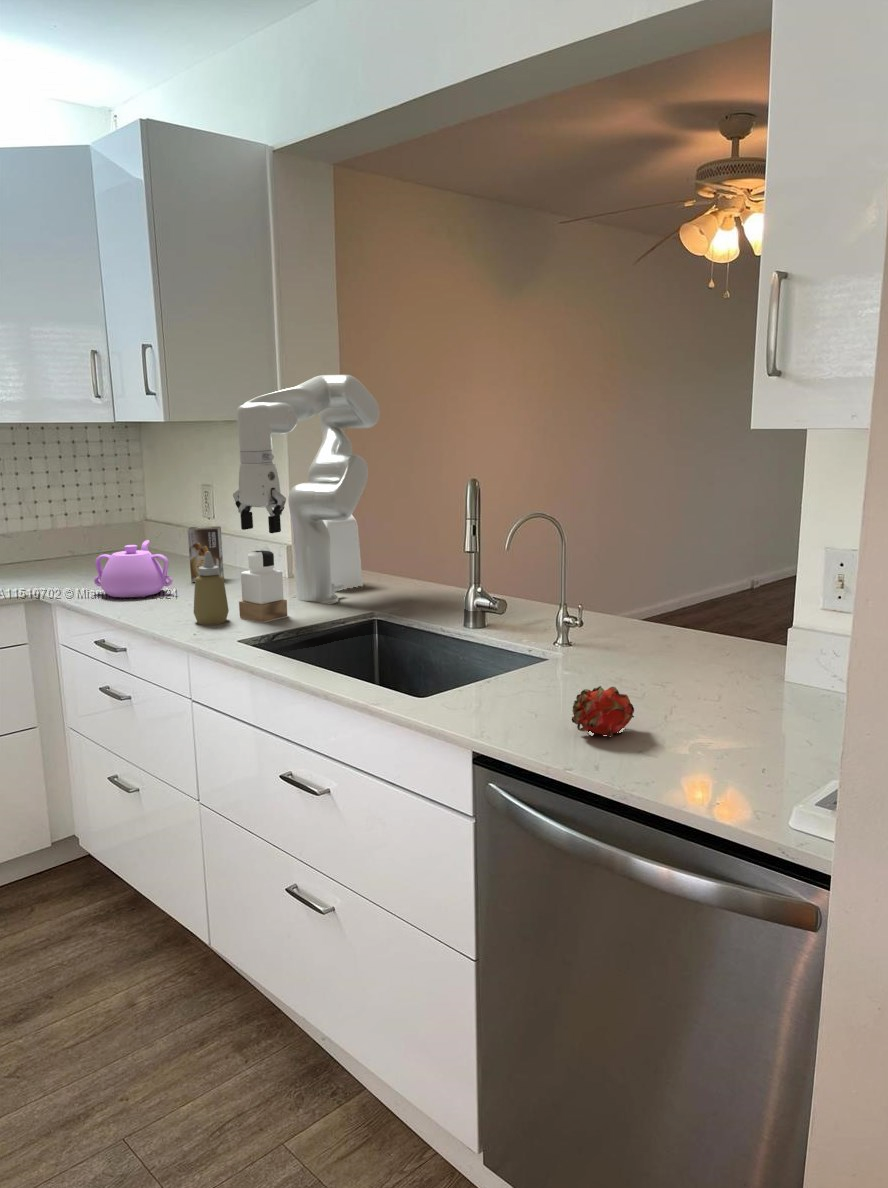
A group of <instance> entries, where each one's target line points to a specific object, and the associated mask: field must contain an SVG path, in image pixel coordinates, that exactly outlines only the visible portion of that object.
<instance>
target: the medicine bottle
mask: <svg viewBox="0 0 888 1188" xmlns="http://www.w3.org/2000/svg"><path fill="white" fill-rule="evenodd" d="M247 565H248V569H249V570H244V571H242V572H241V573H240V581H241V599H242V600H241V601H245V602H250V603H255V604H261V605H262V604H267V603H271V602H276V601H280V600H283V599H284V583H283V582H284V579H283V571H282V570H278V569H274V568H275V555H274V552H273V551H270V550H254V551H253V550H252V551H251V552H249V553H248V554H247Z"/></svg>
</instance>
